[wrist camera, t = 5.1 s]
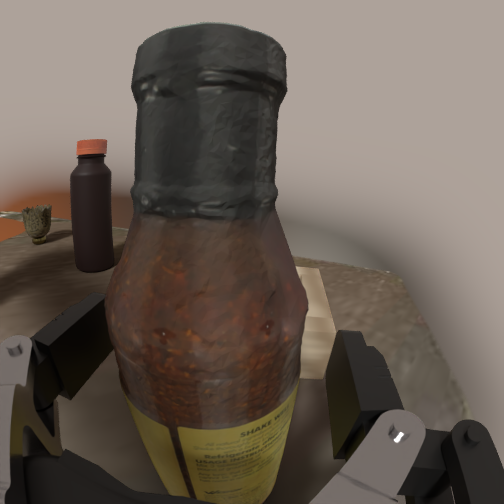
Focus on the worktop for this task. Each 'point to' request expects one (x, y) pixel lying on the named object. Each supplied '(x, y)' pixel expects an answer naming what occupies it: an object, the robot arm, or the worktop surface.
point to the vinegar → (92, 207)
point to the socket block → (315, 326)
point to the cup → (37, 222)
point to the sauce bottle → (208, 266)
